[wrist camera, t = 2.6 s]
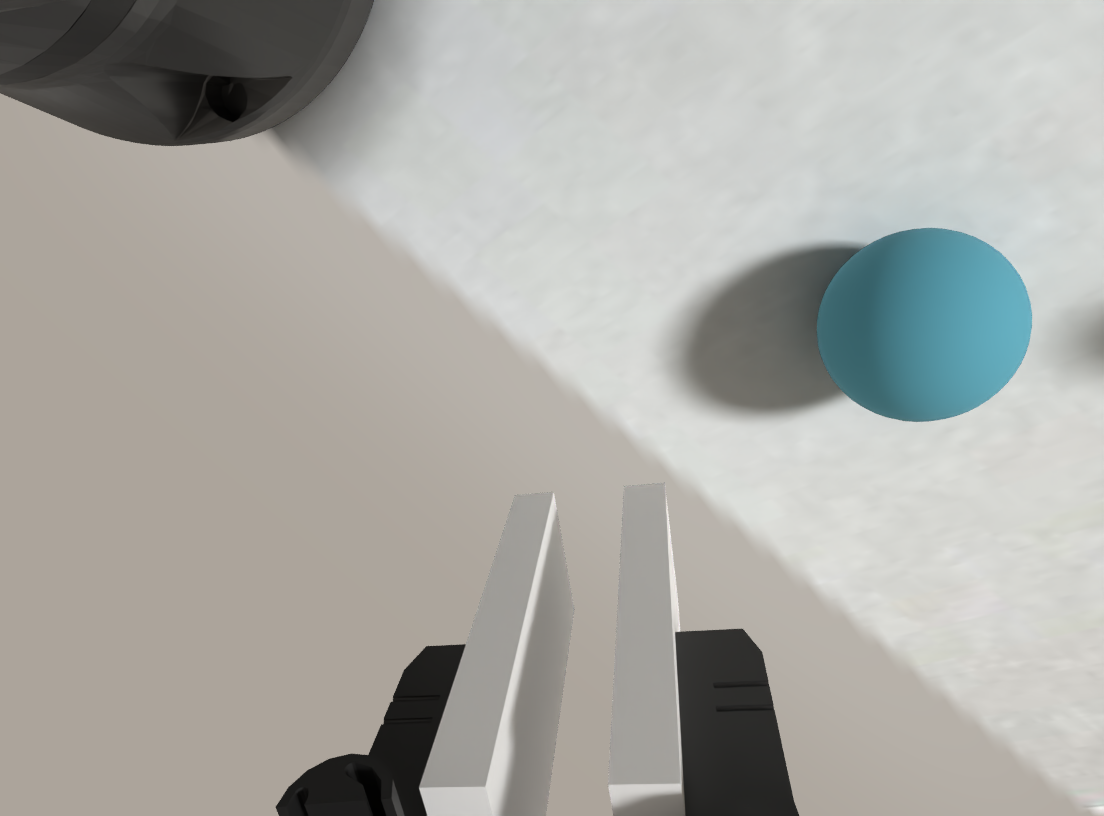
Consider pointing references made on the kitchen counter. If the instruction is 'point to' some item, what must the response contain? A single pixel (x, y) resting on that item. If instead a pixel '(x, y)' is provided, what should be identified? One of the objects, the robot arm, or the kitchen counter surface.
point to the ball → (924, 324)
